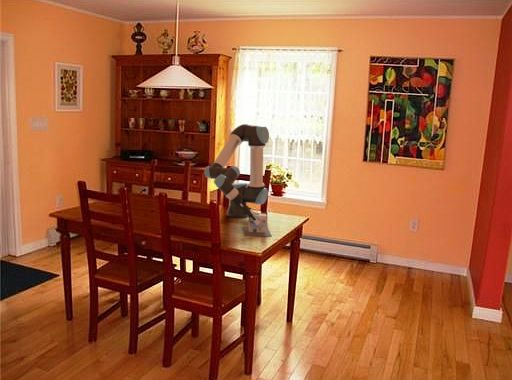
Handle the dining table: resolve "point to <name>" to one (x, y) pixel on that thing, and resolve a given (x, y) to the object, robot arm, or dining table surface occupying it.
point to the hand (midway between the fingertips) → (257, 221)
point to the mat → (256, 233)
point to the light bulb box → (261, 226)
